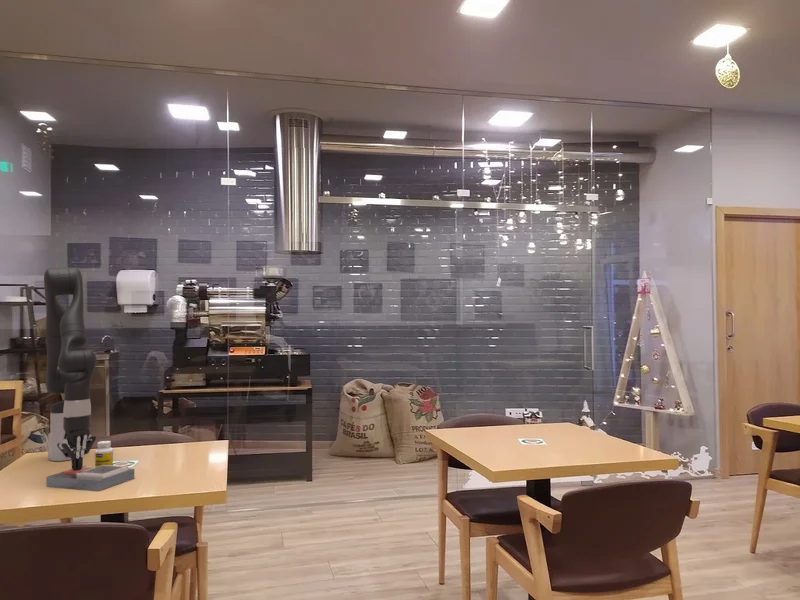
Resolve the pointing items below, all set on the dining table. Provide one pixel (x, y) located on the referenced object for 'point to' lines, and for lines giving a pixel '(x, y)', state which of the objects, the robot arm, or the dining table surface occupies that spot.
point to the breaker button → (74, 471)
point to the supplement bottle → (104, 454)
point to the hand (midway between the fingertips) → (77, 469)
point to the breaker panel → (92, 478)
